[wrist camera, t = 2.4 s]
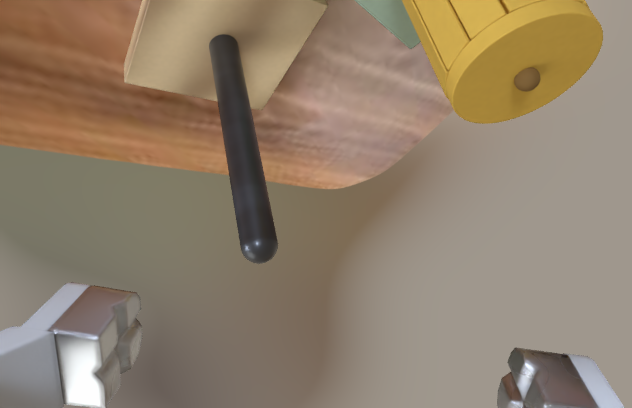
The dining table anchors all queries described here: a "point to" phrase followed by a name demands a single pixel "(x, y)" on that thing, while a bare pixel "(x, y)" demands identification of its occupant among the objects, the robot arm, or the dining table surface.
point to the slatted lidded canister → (505, 51)
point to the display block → (393, 19)
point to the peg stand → (226, 80)
